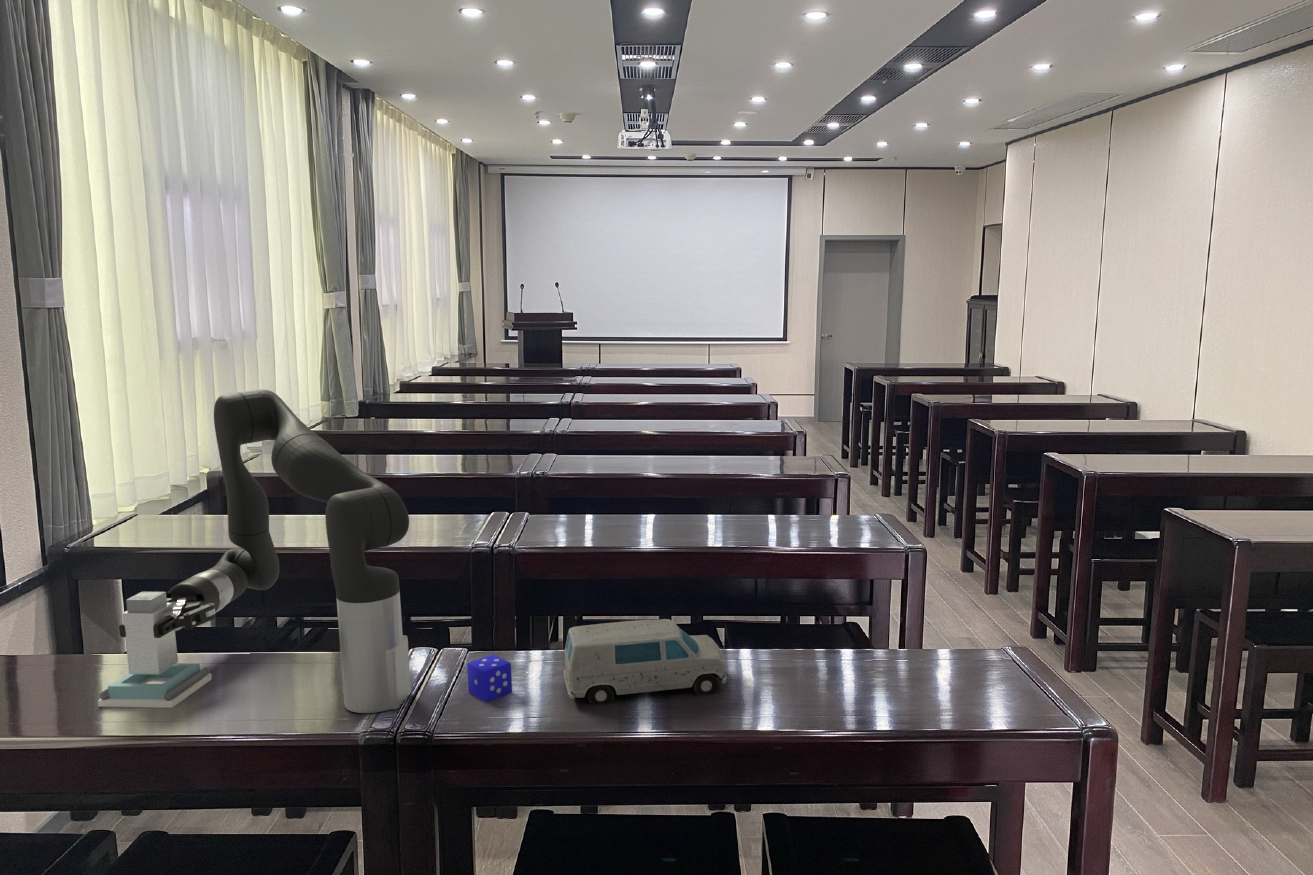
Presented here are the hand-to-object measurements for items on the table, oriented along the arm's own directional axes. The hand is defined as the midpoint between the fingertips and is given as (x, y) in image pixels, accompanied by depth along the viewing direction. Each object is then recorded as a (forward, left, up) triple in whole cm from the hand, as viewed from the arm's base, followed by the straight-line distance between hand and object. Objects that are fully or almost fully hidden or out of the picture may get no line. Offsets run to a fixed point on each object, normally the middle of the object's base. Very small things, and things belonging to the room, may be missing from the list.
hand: (139, 631), depth 147 cm
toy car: (-78, -7, -11) cm, 79 cm away
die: (-54, -5, -11) cm, 56 cm away
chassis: (0, -3, -11) cm, 11 cm away
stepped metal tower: (0, -3, -7) cm, 7 cm away
